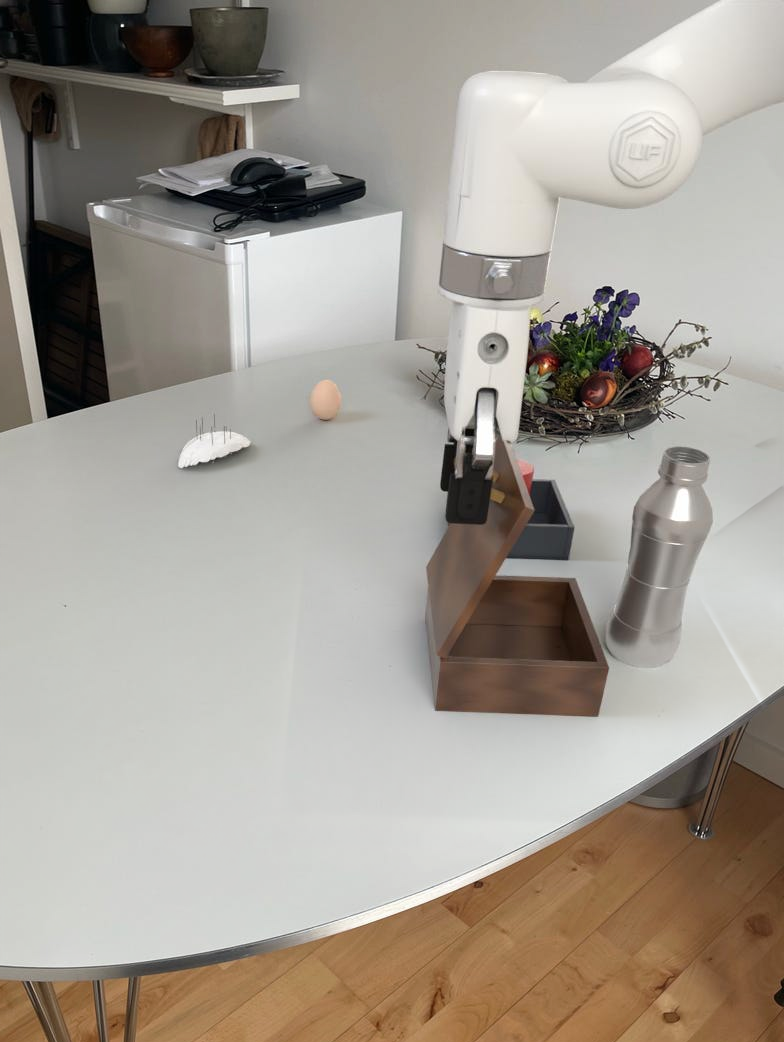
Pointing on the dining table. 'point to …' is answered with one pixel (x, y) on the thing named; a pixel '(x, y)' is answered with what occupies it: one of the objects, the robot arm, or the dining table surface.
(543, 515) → the bin
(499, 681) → the chest
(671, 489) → the silver metal bottle
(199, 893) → the dining table surface
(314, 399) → the egg
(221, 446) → the pincushion
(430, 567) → the lid
